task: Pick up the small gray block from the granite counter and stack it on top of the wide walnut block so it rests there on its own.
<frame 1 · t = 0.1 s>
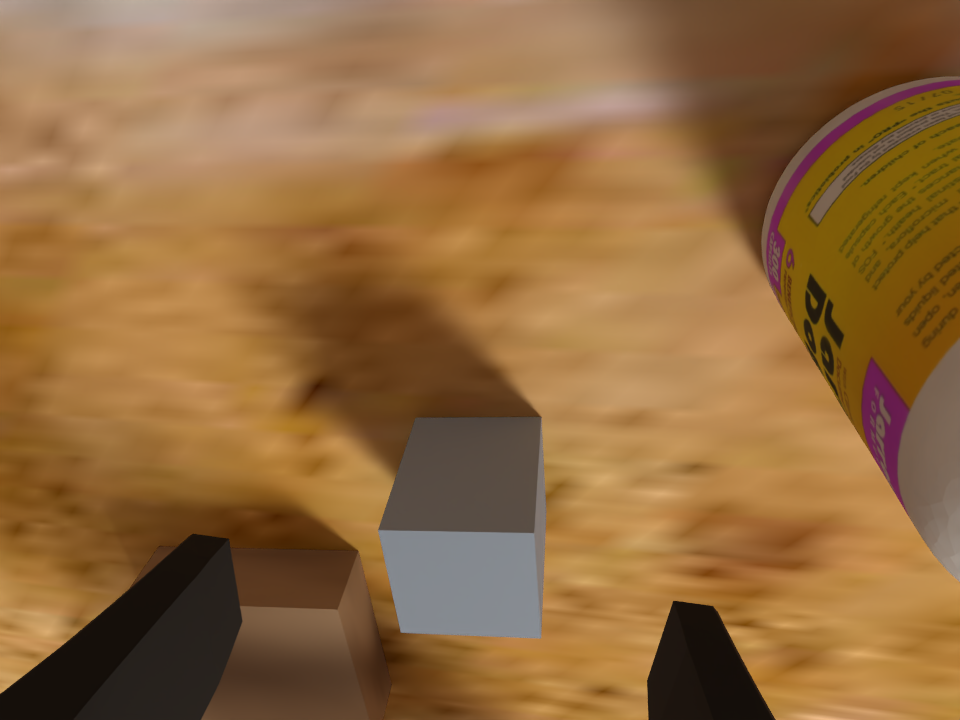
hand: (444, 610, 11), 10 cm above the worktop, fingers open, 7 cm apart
gray block: (483, 466, 22), on the worktop
walnut block: (284, 611, 28), on the worktop
supplement bottle: (892, 213, 17), on the worktop
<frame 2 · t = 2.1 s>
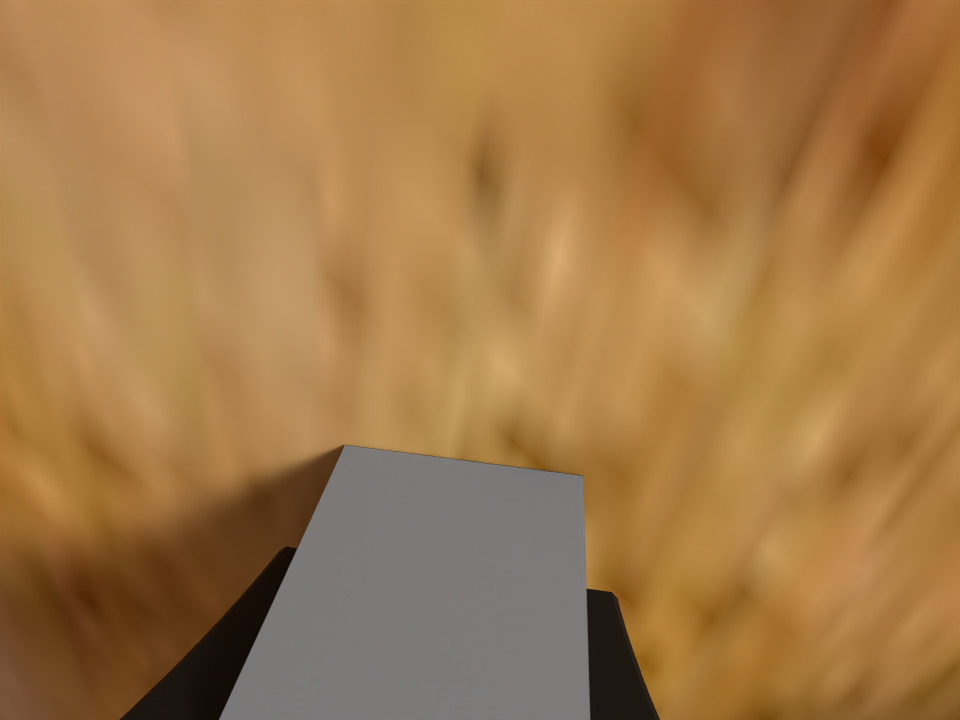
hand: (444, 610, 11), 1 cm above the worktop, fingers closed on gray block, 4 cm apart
gray block: (456, 546, 12), on the worktop, touching gripper
when the fingers open (5 cm above the worktop, at t = 5.2 s): gray block drops 1 cm, resting on walnut block.
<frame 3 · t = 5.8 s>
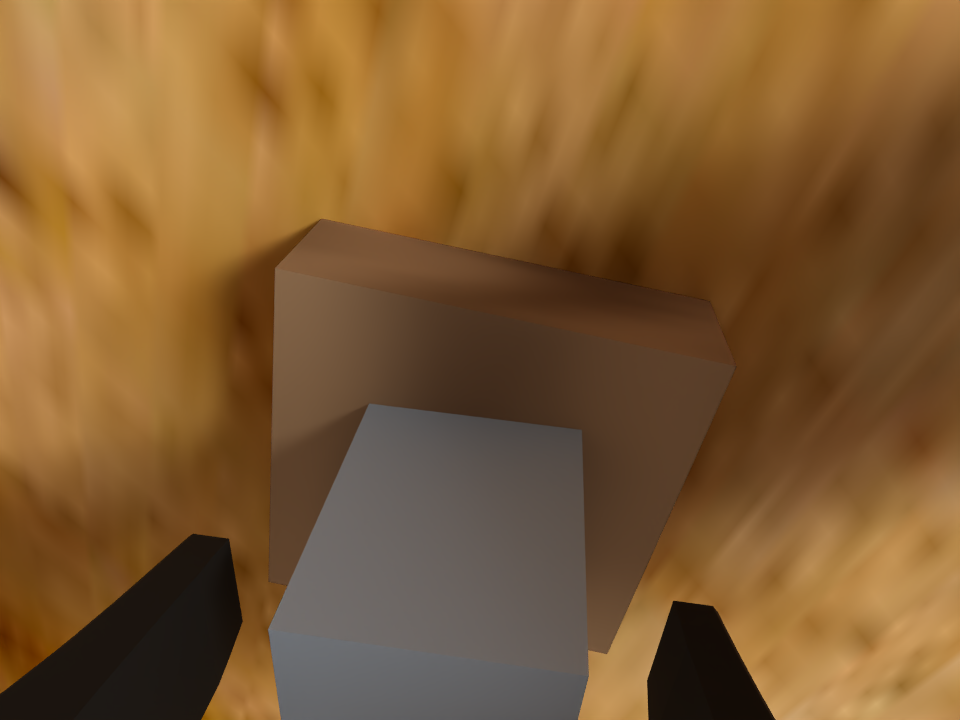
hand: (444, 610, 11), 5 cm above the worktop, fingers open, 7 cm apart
gray block: (467, 496, 14), point 2 cm above the worktop, touching walnut block
walnut block: (482, 405, 16), on the worktop, touching gray block
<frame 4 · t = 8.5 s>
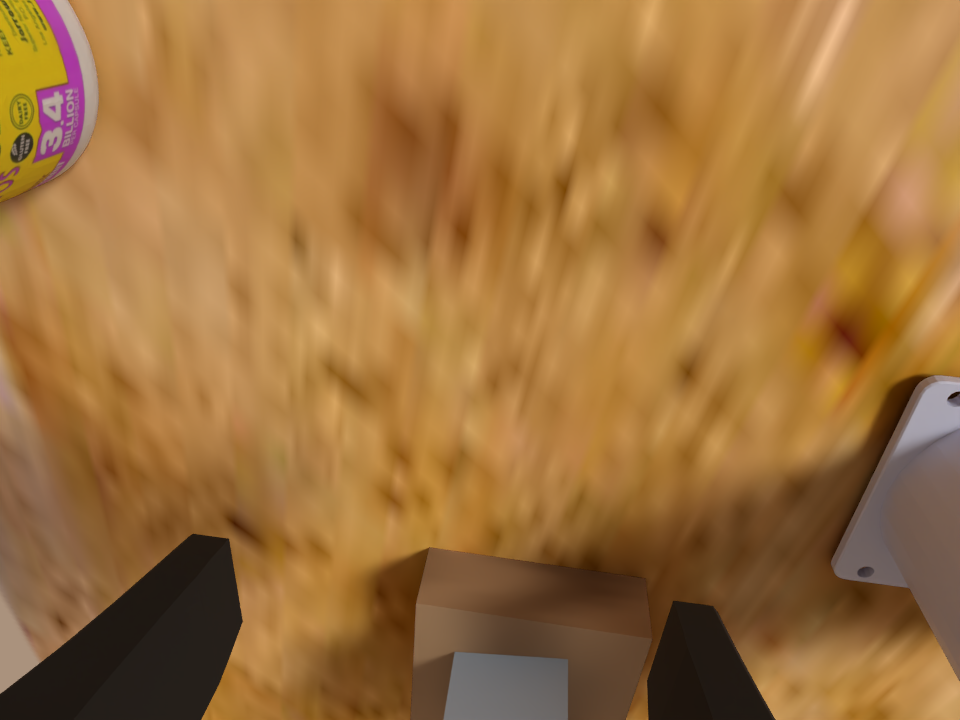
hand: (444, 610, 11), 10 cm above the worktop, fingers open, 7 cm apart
gray block: (512, 690, 25), point 3 cm above the worktop, touching walnut block
walnut block: (524, 623, 27), on the worktop, touching gray block
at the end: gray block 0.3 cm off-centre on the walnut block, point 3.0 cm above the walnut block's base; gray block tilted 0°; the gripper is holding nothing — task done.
